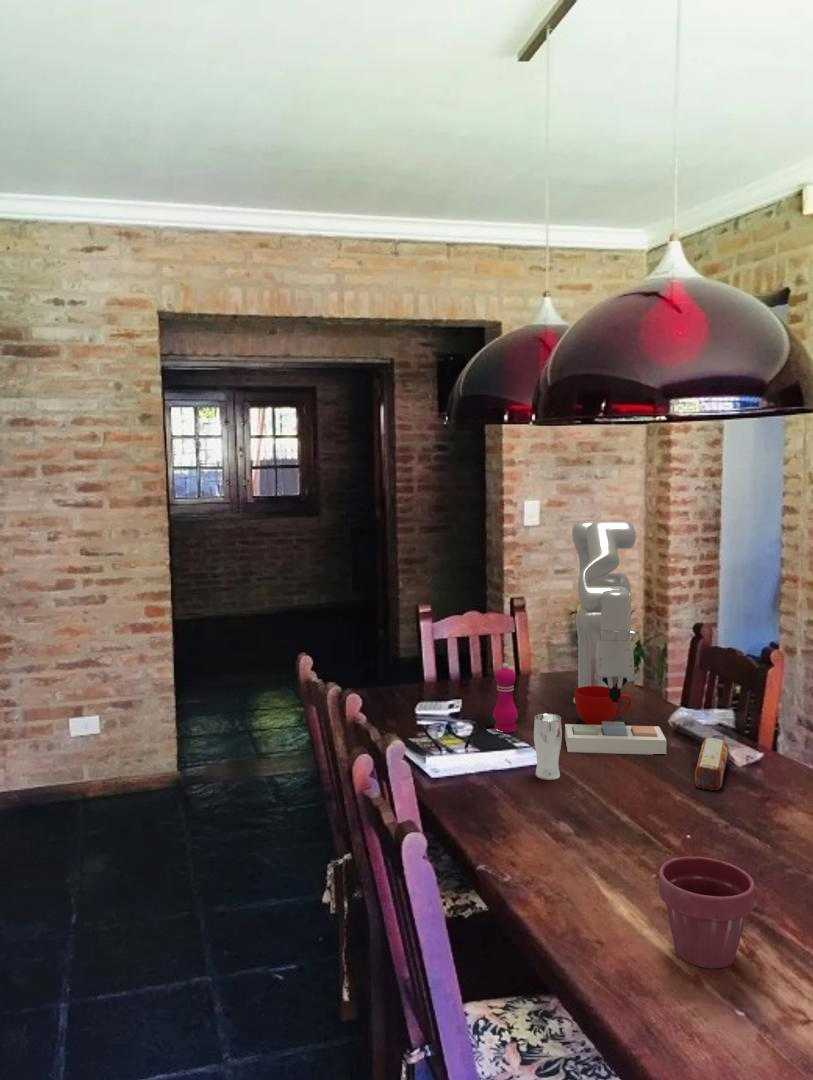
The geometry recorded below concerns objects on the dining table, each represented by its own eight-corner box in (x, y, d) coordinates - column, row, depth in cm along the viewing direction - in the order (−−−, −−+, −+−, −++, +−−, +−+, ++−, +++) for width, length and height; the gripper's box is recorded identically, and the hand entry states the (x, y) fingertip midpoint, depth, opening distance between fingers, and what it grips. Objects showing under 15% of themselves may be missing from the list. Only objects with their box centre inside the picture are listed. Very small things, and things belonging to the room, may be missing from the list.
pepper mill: (509, 735, 243) (509, 667, 241) (488, 730, 247) (488, 664, 246) (522, 728, 249) (522, 662, 247) (501, 724, 253) (500, 659, 251)
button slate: (601, 730, 235) (602, 721, 235) (623, 730, 235) (623, 721, 234) (604, 736, 229) (604, 728, 229) (626, 737, 229) (626, 728, 228)
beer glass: (529, 778, 210) (529, 719, 208) (539, 769, 216) (539, 712, 214) (556, 782, 206) (556, 723, 205) (565, 773, 213) (565, 715, 211)
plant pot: (723, 924, 142) (724, 851, 141) (771, 973, 128) (773, 893, 127) (643, 932, 140) (644, 858, 139) (683, 983, 126) (685, 902, 125)
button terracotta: (631, 734, 234) (631, 725, 234) (653, 735, 234) (653, 726, 233) (634, 741, 228) (634, 732, 228) (656, 742, 228) (656, 733, 227)
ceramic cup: (636, 730, 246) (637, 697, 245) (578, 731, 246) (578, 697, 245) (626, 717, 258) (626, 685, 258) (570, 717, 259) (571, 686, 258)
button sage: (572, 733, 236) (572, 724, 236) (594, 733, 236) (594, 724, 235) (574, 739, 231) (574, 731, 230) (596, 740, 230) (596, 731, 230)
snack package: (722, 793, 199) (722, 765, 198) (692, 789, 201) (693, 762, 201) (728, 764, 218) (728, 738, 217) (701, 760, 221) (701, 735, 220)
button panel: (565, 737, 240) (565, 724, 240) (658, 740, 237) (658, 726, 236) (567, 752, 228) (567, 737, 228) (666, 754, 225) (666, 740, 224)
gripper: (640, 633, 232) (640, 698, 234) (585, 632, 234) (585, 697, 236) (645, 638, 225) (644, 705, 226) (588, 637, 227) (588, 704, 228)
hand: (614, 701), depth 231 cm, fingers closed
